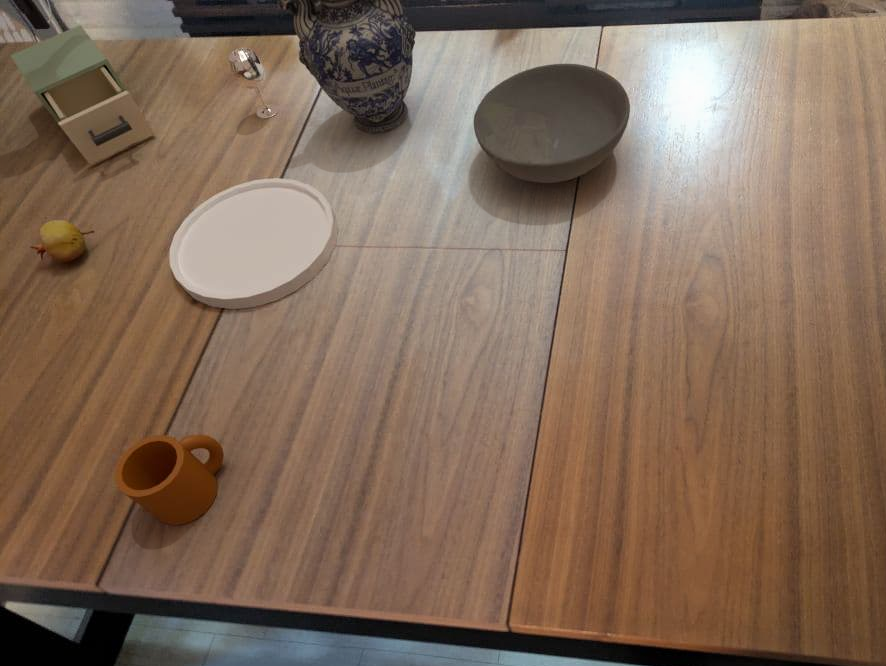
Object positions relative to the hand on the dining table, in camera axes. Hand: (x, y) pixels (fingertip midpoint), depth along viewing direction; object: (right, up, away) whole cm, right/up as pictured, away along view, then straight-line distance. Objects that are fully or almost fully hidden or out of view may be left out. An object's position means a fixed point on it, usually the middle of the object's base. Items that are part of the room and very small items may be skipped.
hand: (59, 7), depth 133 cm
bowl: (+94, -31, -7) cm, 99 cm away
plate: (+42, -48, -12) cm, 65 cm away
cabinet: (-3, -12, +14) cm, 19 cm away
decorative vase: (+60, -19, +4) cm, 63 cm away
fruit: (+9, -49, -9) cm, 51 cm away
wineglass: (+36, -17, +8) cm, 41 cm away
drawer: (+6, -22, +7) cm, 23 cm away
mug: (+44, -87, -36) cm, 104 cm away
